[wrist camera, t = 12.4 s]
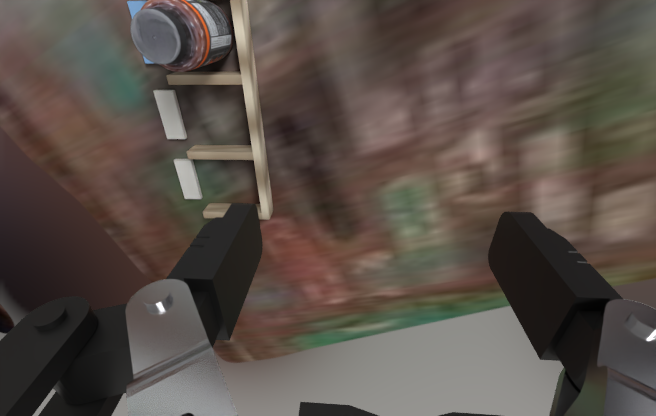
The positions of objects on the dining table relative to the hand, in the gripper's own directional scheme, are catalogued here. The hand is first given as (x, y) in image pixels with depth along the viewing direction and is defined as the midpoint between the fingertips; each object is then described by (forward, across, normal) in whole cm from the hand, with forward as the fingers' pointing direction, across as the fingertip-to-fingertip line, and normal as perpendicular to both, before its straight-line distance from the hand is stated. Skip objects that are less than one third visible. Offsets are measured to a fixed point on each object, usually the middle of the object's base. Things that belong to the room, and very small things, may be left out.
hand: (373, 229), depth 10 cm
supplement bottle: (+30, +17, -5) cm, 35 cm away
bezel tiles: (+30, +23, +4) cm, 38 cm away
